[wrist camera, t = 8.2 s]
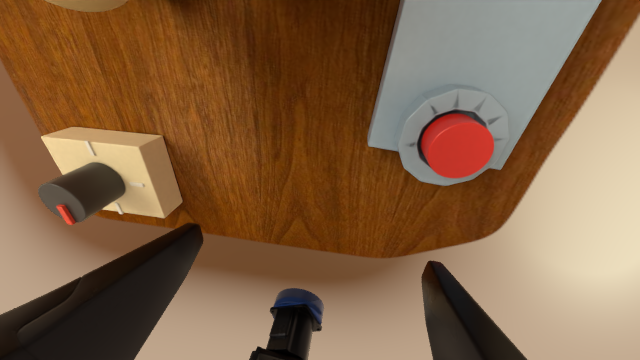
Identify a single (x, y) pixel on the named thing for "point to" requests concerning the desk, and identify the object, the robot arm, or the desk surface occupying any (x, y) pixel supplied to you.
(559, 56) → the button box
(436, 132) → the red push button
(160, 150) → the dial panel
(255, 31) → the desk surface
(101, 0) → the light bulb
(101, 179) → the dial knob
